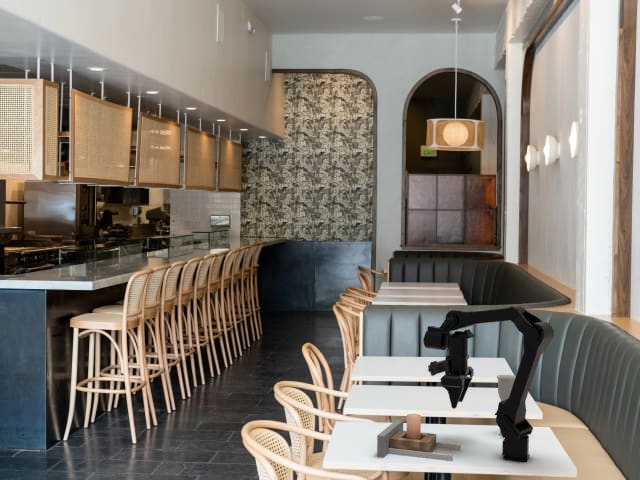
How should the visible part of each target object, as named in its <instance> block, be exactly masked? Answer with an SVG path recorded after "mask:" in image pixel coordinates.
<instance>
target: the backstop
mask: <svg viewBox="0 0 640 480" xmlns="http://www.w3.org/2000/svg"><path fill="white" fill-rule="evenodd" d="M399 430H402V431H404V419H395V420H394V421H393V422H392V423H391V424H390V425H388V426H387V427H386V428H385V429H383V430H382V431H381V432H380V433H378V434H377V436H376V437H377V438H376V439H377V442H376V444H377V445H376V446H377V447H376V452H377V453H376V457H377V458H385V457H386V456H388V454H389V455H398V456H406V457H414V458H424V459H432V460H439V461H447V462H449V461H450V462H453V460H454V458H453V457H454V456H453V455H452V454H447V453H446V454H444V453H437V452H432V453H429V452H420V451H411V450H402V449H394V448H390V438H392V437H393V436H394V435H395V434H396V433H397V432H398V431H399ZM436 449H444V450H455V451H461V450H462V445H461V444H456V443H449V442H437V441H436Z"/></svg>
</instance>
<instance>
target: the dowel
mask: <svg viewBox="0 0 640 480" xmlns="http://www.w3.org/2000/svg"><path fill="white" fill-rule="evenodd" d="M421 420H422V416H421V414H417V413H407V414H406V431H407V436H406V439H416V440H420V438H421V433H422V432H421V431H422V430H421V428H422V427H421V426H422V425H421V424H422V421H421Z"/></svg>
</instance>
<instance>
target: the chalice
mask: <svg viewBox="0 0 640 480" xmlns="http://www.w3.org/2000/svg"><path fill="white" fill-rule="evenodd" d="M515 377H516V375H514V374H513V375H512V374H497V375H496V379H497V394H498V397H499V400H500V402H501V401H503V400H506V399H508V398H509V395H510V392H511V389H512V386H513V383H514V380H515ZM498 435H499V436H500V437H502V434H501V431H500V430H499V433H498Z"/></svg>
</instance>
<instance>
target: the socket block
mask: <svg viewBox="0 0 640 480" xmlns="http://www.w3.org/2000/svg"><path fill="white" fill-rule="evenodd" d="M406 436H407V430H403V431H402V430H399V431H398V432H397V433H396V434H395V435H394V436H393V437H392V438H390V448H394V449H402V450H411V451H420V452H429V453H434V451H435V450H436V449H437V448H436V442H437V433H431V432H430V433H429V432H421V438H420V440H416V439H406Z"/></svg>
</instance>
